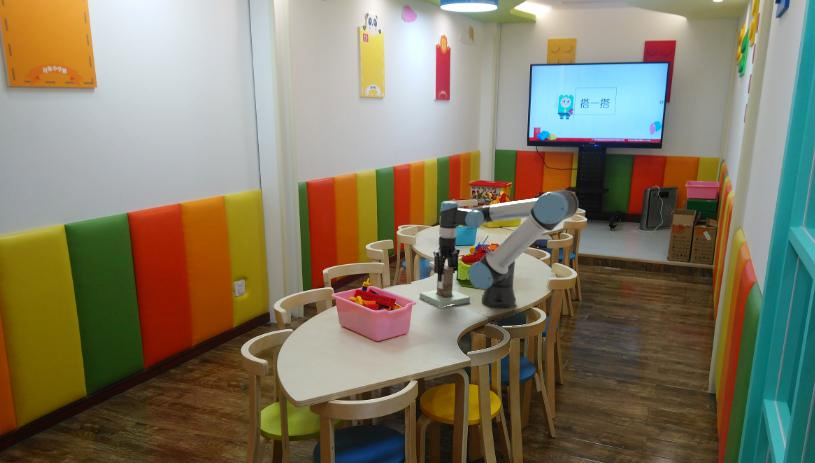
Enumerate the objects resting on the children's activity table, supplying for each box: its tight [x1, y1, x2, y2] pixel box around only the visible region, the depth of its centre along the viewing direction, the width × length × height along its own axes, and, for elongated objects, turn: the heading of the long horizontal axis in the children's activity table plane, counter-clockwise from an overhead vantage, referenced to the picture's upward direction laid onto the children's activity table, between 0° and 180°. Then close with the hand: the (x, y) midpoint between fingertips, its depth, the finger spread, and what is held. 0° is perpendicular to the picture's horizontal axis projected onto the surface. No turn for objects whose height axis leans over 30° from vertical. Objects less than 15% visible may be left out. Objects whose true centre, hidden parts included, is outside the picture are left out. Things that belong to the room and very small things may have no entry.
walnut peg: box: [436, 265, 454, 298], centre depth 257 cm, size 6×4×13 cm, turn 35°
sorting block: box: [419, 289, 471, 308], centre depth 259 cm, size 16×16×2 cm
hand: (444, 287), depth 258 cm, fingers closed on walnut peg, 4 cm apart
